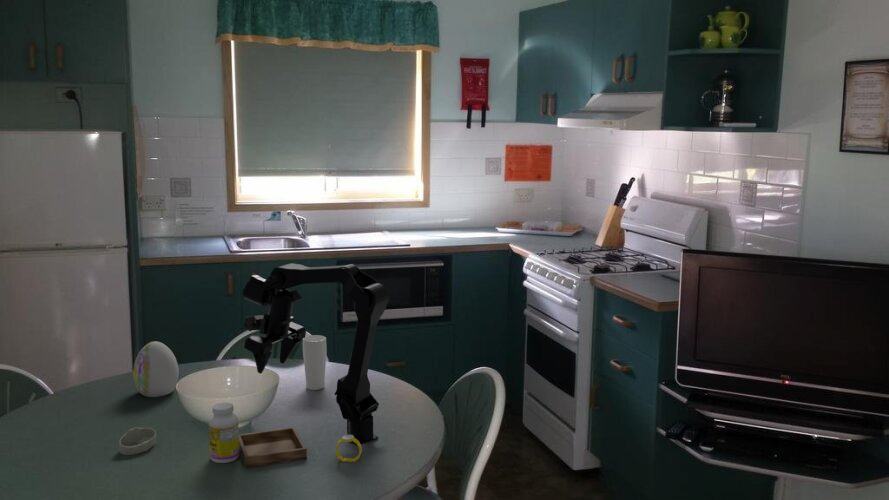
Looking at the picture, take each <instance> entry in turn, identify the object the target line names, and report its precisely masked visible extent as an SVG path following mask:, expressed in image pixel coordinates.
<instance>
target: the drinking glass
mask: <svg viewBox="0 0 889 500" xmlns="http://www.w3.org/2000/svg"><path fill="white" fill-rule="evenodd" d="M302 354H303V355H302V356H303V365H304V366H303V367H304V373H305V385H306V386H305V387H306V388H307V390H310V391H319V390H322V389H324V388H325V386H326V385H325V384H326V382H325V378H326V376H325V375H326V367H327V366H326V365H327V364H326V362H327V337H326V336H324V335H320V334H317V335H316V334H313V335H312V334H311V335H307V336H306V335H305V338H303V339H302Z"/></svg>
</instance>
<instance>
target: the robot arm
mask: <svg viewBox="0 0 889 500" xmlns="http://www.w3.org/2000/svg"><path fill="white" fill-rule="evenodd" d="M331 283H340V284H341V285H342V286H343V287H344V289H345V292H346V293H347V295H348V297H349V298H350V299H351V300H353V302H354V312H355V315H356V318H357V322H356V327H355V334H354V337H353V345H352V349H351V354H350V358H349V359H350V360H349V366H348V371H347V374H346V375H344V376H342V377H340V378H339V379H337V382H336V391H335V392H334V396H336V397H335V401H336V402H335V403H336V404H337V405H338V407H339V410H340V412H341V416H342V419H343V420H346V435H353V436H354V438H355V439H357V440H358V441H359V442H360V444H361V445H364V444H366V443H369V442H372V441H374V440H377V439H379V436H378V435H377V434H374V416H373V413H374V412H377V410H378V409H379V404H380V403H379V402H378V400H377V399H376V398H375V397H374V396H373V394H372V393H371V382H370V379H369V377H368V372H369V368H370V362H371V357H372V351H373V347H374V342H375V336H376V333H377V332H376V331H377V327H378V323H379V321H380V319H381V317H382V316H383V314H384V313H385V311H386V308H387V305H388V304H389V300H390V291H389V290H388V288H387V287H386V286H385V285H384V284H382V283H380V282H378V280H376V279H375V278H374V277H373V276H371V275H369V274H368V273H366V272H364V271H362V270H361V269H360V268H359V267H358V266H357V265H355V264H353V263H351V264H347V265H346V264H345V265H330V266H313V267H310V266H305V265H303V264H298V263H292V262H291V263H287V264H284V265H280V266H277V267H273V269H272V270H271V272H270V275H269V276H268V278H266V279H265V278H263V277H261V276H260V275H257V274H253V275H251V276H250V279H249V281H248V282H247V283H246V284H245V286H244V288H243V290H242V296H243V298H244V300H247V301H249V302H252V303H254V304H257V305H259V306H262V307H267V306H269V308H268V312H267V313H265V314H260V315H252V316H251V315H249V316H245V317H244V321H243V326H244V328H245V329H246V330H248V332H252V331H259V334H262V335H265V336H264V337H263V336H262V335H259V334H257V333H256V334H254V335H251V336H249V337H247V338H245V339H244V342H243V348H244V349H245V350H247V351H248V352H250V353H252V354H253V357H254V361H255V367H256V370H257V373H258V374H262V373H263V372H264V370H265V368H266V366H267V364H268V362H269V360H270V358H271V356H272V355H273V354H272V352H271V351H272V350H273V345H274V344H276V343H278V342H280V353H279V363H281V364H282V365H283V364H285V363H286V361H287V359H288V358H289V357H290V356H291V354H292V353H293V351H295V349H296V348H297V347H298V345H299V344H300V342H303V338H305V337H306V334H307V330H306V328H305V327H304V326H303V325H300V324H298V323H295V322H294V321H295V317H294V316H292V312H293V306H294V303H295V302H297V301H301V300H302V299H303V297H302V296H301V294H300V293H299V292H298V290H297V289H294V290H290V289H291V288H294V287H297V286H301V285H307V284H309V285H311V284H331ZM350 443H352V444H354V445H357V444H356V443H355V442H353V441H351V442H350Z"/></svg>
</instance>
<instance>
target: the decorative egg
mask: <svg viewBox="0 0 889 500" xmlns="http://www.w3.org/2000/svg"><path fill="white" fill-rule="evenodd" d="M179 374H180V372H179V364H178V361H177V358H176V357H175V355H174V353H173V351H172V350H171V349H170V348H169V347H168V346H167V345H166V344H164V343H162V342H160V341H150V342H148V343H147V344H145V345H144V346H143V347H142V348H141V350H140V351H139V352H138V354H137V356H136V357H135V360H134V364H133V368H132V377H133V378H132V379H133V383H134V386H135V388H136V389H137V391H138V392H139V393H140V394H141V395H142V396H143V397H147V398H159V397H164V396H167V395H170V394H171V393H172V392H173V391H174V390H175V388H176V386H177V384H178V381H179Z"/></svg>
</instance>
